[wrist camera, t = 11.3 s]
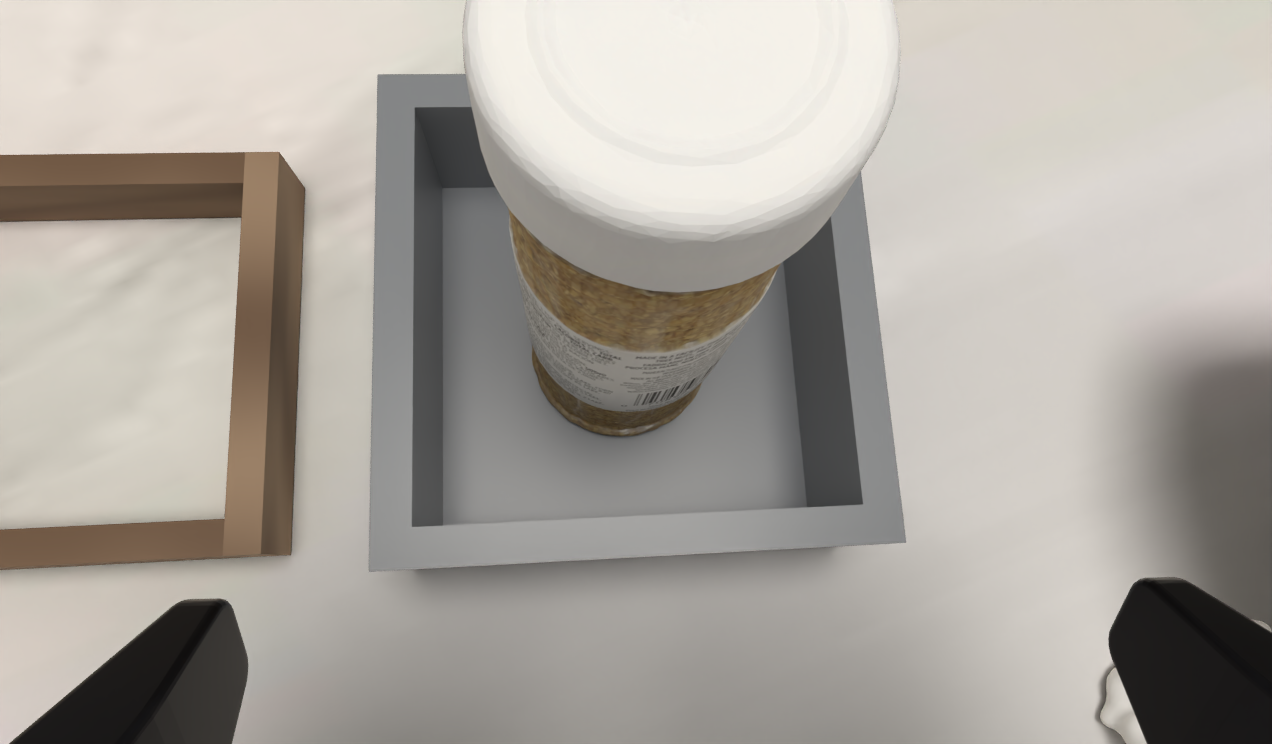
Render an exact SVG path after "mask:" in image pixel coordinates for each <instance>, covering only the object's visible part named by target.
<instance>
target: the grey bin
mask: <svg viewBox="0 0 1272 744" xmlns="http://www.w3.org/2000/svg"><path fill="white" fill-rule="evenodd" d="M891 543H906V537H905V529H904V520H903V512H902V504H901V496H900V488H899V480H898V471H897V463H896V455H895V447H894V439H893V431H892V422H891V414H890V406H889V398H888V390H887V382H886V373H885V365H884V357H883V349H882V341H881V333H880V324H879V316H878V308H877V300H876V292H875V284H874V275H873V267H872V259H871V251H870V243H869V235H868V226H867V218H866V210H865V202H864V194H863V186H862V177H861V171H860V173H859V174H858V176H857V178H856V179H855V181H854V182H853V184H852V185H851V187H850V188H849V190H848V191H847V193H846V195H845V196H844V198H843V199H842V201H841V202H840V204H839V205H838V207H837V208H836V210H835V211H834V212H833V214H832V215H831V216H830V218H829V219H828V221H827V222H826V223H825V224H824V226H823V227H822V228H821V229H820V230H819V231H818V232H817V233H816V235H815V236H814V237H813V238H812V239H811V240H809V241H808V242H807V243H806V244H805V245H804V246H803V247H802V248H801V249H799V250H798V251H797V252H795V253H794V254H793V255H791V256H790V257H789V258H787V259H786V260H784V261H783V262H782V263H781V264H780V266H779V267H778V269H777V271H776V274H775V276H774V278H773V281H772V283H771V285H770V287H769V289H768V290H767V292H766V294H765V295H764V297H763V298H762V300H761V301H760V303H759V304H758V306H757V307H756V309H755V310H754V312H753V313H752V315H751V316H750V318H749V319H748V321H747V322H746V323H745V325H744V326H743V328H742V329H741V330H740V332H739V333H738V335H737V336H736V338H735V339H734V340H733V342H732V343H731V344H730V345H729V347H728V348H727V350H726V351H725V353H724V354H723V356H722V357H721V358H720V360H719V361H718V363H717V364H716V365H715V367H714V368H713V369H712V371H711V372H710V373H709V375H708V376H707V377H706V378H705V379H704V380H703V382H702V384H701V387H700V389H699V391H698V393H697V395H696V396H695V398H694V399H693V400H692V402H691V403H690V404H689V405H688V406H687V407H686V408H685V409H684V410H683V412H682V413H681V414H680V415H679V416H677V417H676V418H675V419H674V420H672V421H670V422H669V423H666V424H664V425H661V426H660V427H658V428H657V429H655V430H652V431H647V432H644V433H642V434H639V435H635V436H611V435H603V434H599V433H595V432H592V431H589V430H586V429H584V428H582V427H580V426H579V425H577V424H575V423H573V422H570V421H568V420H567V419H566V418H565V417H564V416H563V415H562V414H560V412H559V411H558V410H557V409H556V408H555V407H554V406H553V405H552V404H551V403H550V402H549V400H548V399H547V397H546V396H545V394H544V392H543V391H542V389H541V387H540V385H539V382H538V377H537V375H536V372H535V370H534V367H533V364H532V342H531V339H530V335H529V331H528V326H527V320H526V315H525V309H524V303H523V298H522V293H521V288H520V284H519V279H518V275H517V270H516V265H515V260H514V254H513V249H512V243H511V237H510V231H509V210H508V207H507V205H506V203H505V202H504V200H503V199H502V197H501V196H500V194H499V192H498V190H497V189H496V187H495V185H494V183H493V181H492V179H491V176H490V174H489V172H488V169H487V166H486V163H485V160H484V157H483V154H482V151H481V148H480V143H479V139H478V134H477V129H476V124H475V120H474V116H473V111H472V107H471V101H470V96H469V90H468V84H467V79H466V74H381V75H378V83H377V139H376V195H375V251H374V307H373V362H372V418H371V474H370V530H369V572H375V571H393V570H412V569H430V568H449V567H467V566H486V565H504V564H523V563H541V562H559V561H578V560H596V559H615V558H633V557H652V556H670V555H688V554H707V553H725V552H744V551H762V550H781V549H799V548H818V547H836V546H854V545H873V544H891Z"/></svg>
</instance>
